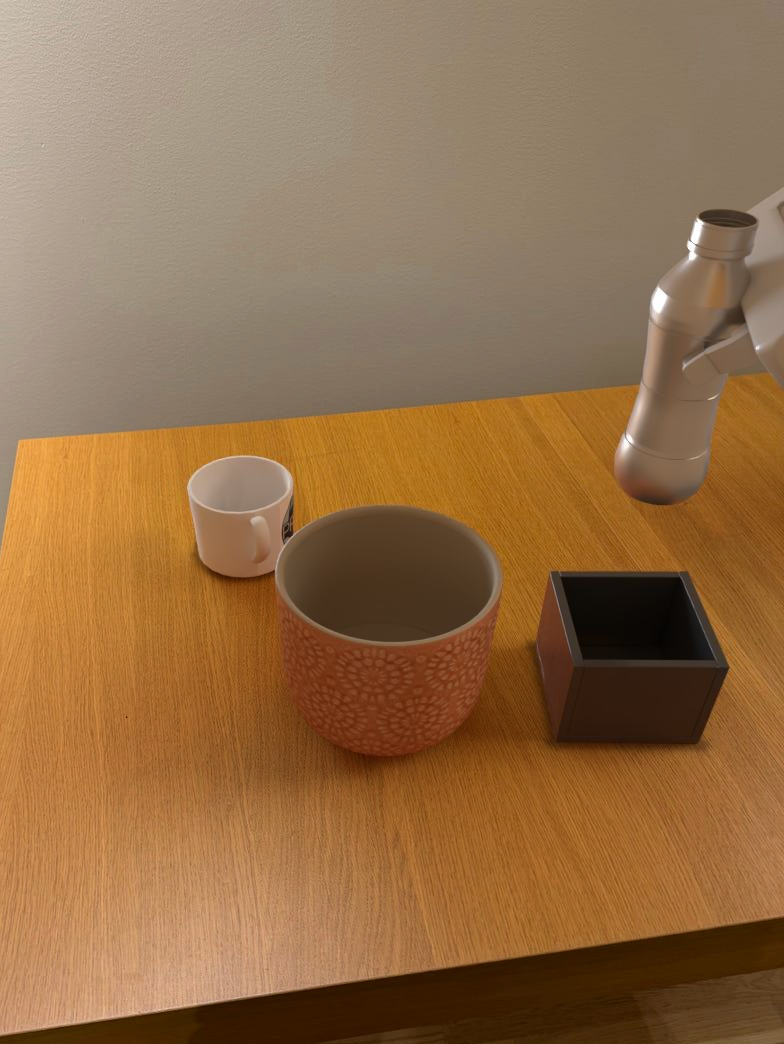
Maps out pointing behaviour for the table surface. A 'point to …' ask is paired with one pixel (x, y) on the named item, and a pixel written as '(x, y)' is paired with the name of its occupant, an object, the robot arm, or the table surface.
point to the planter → (386, 625)
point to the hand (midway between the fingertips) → (682, 351)
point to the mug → (241, 514)
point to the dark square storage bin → (627, 657)
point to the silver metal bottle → (673, 332)
